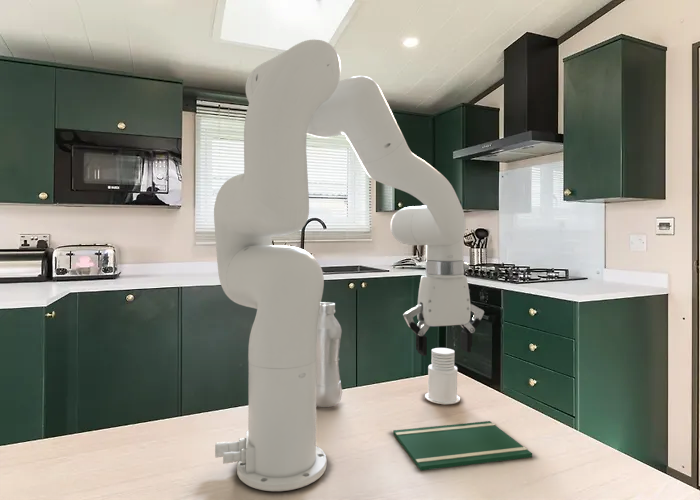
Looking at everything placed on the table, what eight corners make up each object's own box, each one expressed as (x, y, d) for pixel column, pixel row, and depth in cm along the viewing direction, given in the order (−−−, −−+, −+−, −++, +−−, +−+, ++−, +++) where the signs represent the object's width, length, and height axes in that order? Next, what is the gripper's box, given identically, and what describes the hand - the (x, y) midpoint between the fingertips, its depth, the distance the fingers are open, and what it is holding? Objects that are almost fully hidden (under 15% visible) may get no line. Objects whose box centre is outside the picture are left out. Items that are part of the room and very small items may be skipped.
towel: (420, 470, 62) (420, 465, 62) (393, 433, 74) (393, 429, 74) (532, 457, 66) (532, 452, 66) (489, 424, 78) (489, 420, 78)
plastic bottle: (338, 412, 83) (338, 306, 82) (303, 409, 84) (304, 305, 84) (345, 400, 89) (346, 301, 89) (313, 397, 90) (313, 300, 90)
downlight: (464, 406, 86) (465, 356, 86) (428, 406, 86) (429, 355, 86) (455, 392, 94) (455, 346, 94) (422, 392, 94) (422, 345, 94)
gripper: (473, 266, 95) (473, 345, 96) (397, 268, 91) (398, 350, 92) (492, 269, 88) (492, 354, 88) (411, 271, 84) (411, 360, 85)
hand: (444, 352), depth 90 cm, fingers open, 9 cm apart
